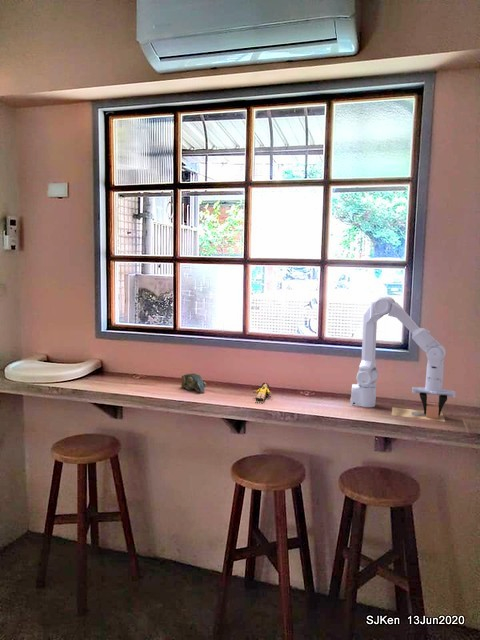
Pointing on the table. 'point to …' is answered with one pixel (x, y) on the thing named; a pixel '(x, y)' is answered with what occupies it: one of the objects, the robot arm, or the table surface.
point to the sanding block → (432, 410)
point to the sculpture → (193, 382)
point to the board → (414, 414)
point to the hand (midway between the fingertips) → (431, 414)
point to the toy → (262, 392)
